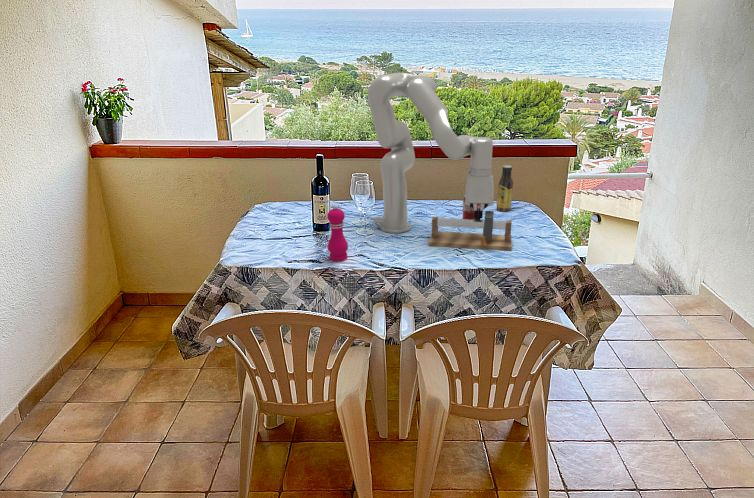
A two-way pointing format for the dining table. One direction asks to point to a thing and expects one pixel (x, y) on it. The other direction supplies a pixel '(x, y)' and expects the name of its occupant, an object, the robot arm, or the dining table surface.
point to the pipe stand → (470, 239)
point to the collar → (488, 224)
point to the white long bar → (469, 223)
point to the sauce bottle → (505, 189)
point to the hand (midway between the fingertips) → (478, 219)
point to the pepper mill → (337, 235)
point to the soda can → (469, 211)
